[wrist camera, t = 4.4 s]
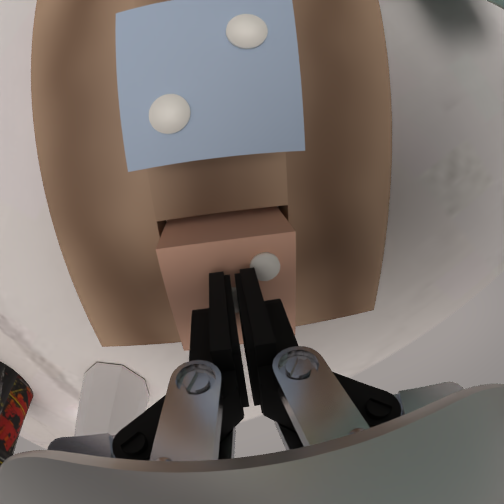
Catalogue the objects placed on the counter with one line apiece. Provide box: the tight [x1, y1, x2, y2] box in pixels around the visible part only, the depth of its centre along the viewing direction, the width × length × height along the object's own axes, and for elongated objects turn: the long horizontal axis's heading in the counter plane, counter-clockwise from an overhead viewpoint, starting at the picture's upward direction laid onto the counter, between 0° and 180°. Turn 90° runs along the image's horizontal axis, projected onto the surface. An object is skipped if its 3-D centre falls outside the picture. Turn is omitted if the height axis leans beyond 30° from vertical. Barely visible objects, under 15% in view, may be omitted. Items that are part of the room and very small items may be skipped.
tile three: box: [156, 206, 296, 351], centre depth 13 cm, size 5×5×4 cm
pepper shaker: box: [75, 362, 149, 436], centre depth 13 cm, size 5×5×11 cm
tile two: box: [115, 0, 305, 172], centre depth 8 cm, size 5×5×4 cm
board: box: [31, 0, 392, 347], centre depth 10 cm, size 16×24×2 cm, turn 4°
